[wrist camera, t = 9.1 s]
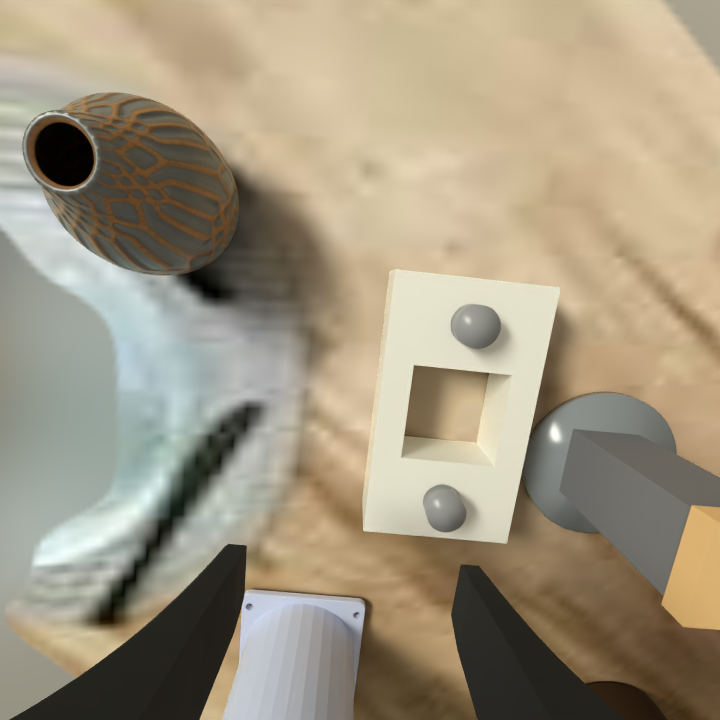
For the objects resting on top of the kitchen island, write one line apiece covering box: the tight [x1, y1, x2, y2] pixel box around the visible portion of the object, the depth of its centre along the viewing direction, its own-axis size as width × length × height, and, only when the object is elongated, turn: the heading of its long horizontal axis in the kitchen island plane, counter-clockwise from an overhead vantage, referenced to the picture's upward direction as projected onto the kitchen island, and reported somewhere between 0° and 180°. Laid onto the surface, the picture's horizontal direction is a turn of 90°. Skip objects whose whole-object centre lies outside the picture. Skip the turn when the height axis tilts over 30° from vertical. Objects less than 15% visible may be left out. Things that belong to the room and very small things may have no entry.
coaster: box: [522, 392, 676, 533], centre depth 23 cm, size 9×9×1 cm
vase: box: [22, 92, 239, 275], centre depth 15 cm, size 7×7×9 cm
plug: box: [559, 429, 720, 630], centre depth 18 cm, size 4×4×9 cm
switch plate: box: [362, 269, 561, 544], centre depth 20 cm, size 14×8×4 cm, turn 174°
